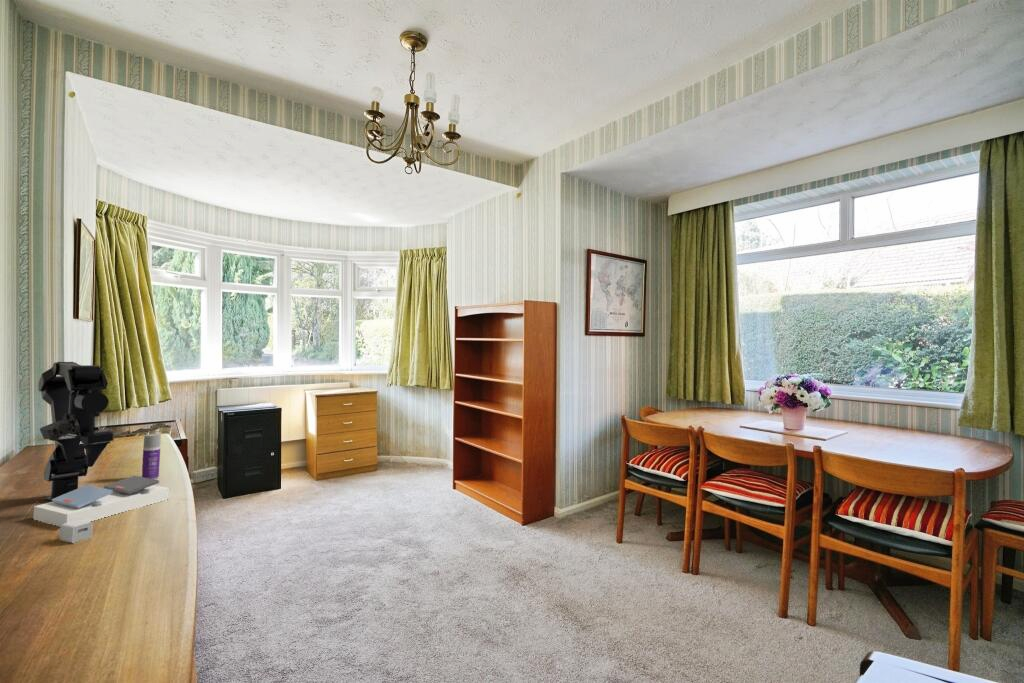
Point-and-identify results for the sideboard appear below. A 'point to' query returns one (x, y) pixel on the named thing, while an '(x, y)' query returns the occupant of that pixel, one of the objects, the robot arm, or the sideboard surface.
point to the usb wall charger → (76, 531)
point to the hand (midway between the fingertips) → (79, 464)
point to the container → (151, 456)
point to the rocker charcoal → (131, 484)
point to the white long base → (100, 506)
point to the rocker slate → (82, 496)
